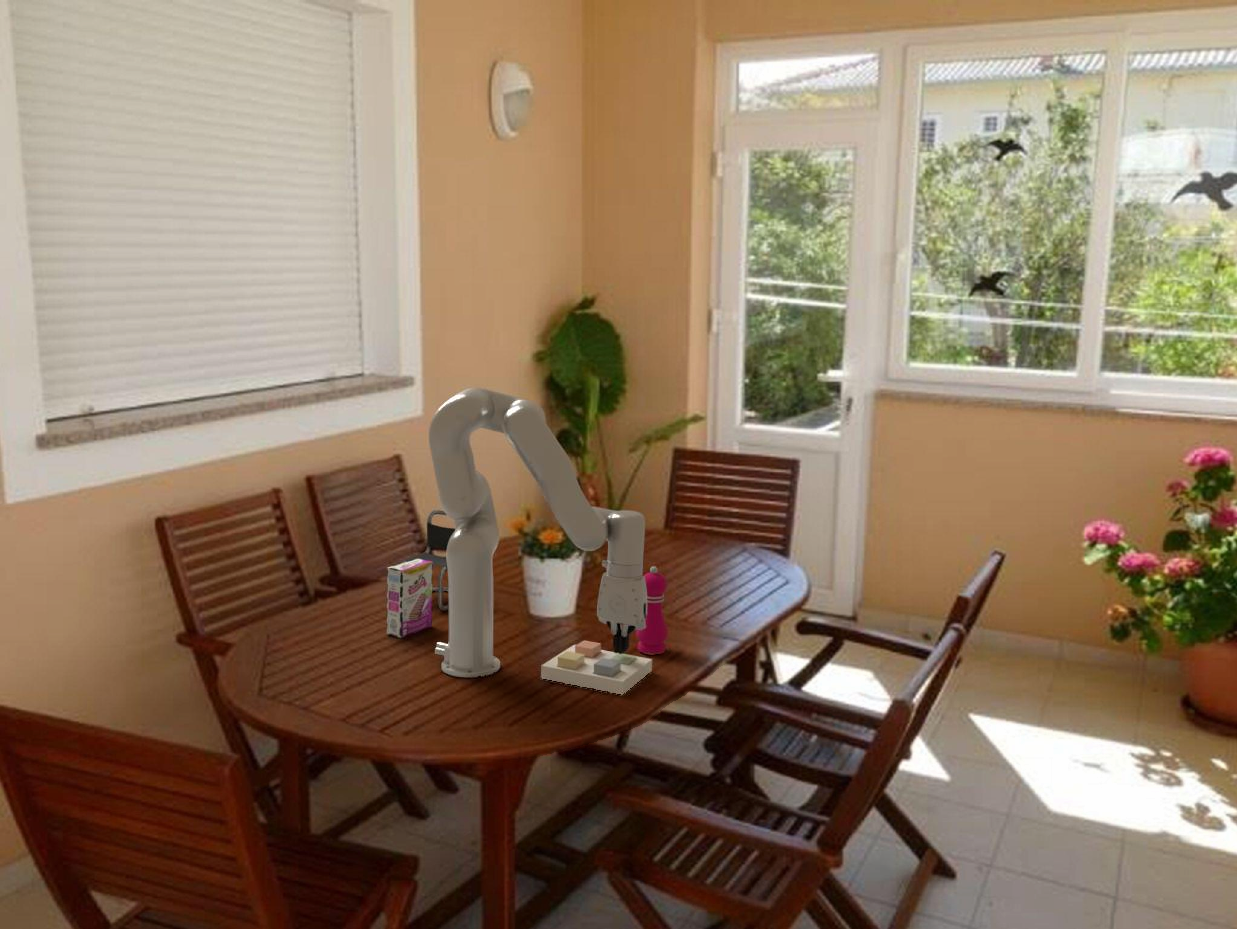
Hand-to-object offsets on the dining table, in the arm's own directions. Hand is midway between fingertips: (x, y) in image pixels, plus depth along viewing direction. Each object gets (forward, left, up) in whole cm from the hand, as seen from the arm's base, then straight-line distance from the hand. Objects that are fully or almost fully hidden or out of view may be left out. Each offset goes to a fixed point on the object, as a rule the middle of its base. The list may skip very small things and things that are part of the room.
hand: (620, 651), depth 232 cm
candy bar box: (-56, +1, -5) cm, 56 cm away
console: (-4, -4, -5) cm, 7 cm away
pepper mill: (0, +16, -5) cm, 17 cm away
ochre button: (-8, -8, -2) cm, 11 cm away
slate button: (+1, -8, -2) cm, 8 cm away
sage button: (+1, 0, -4) cm, 4 cm away
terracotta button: (-8, 0, -2) cm, 8 cm away
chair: (-64, +24, -5) cm, 68 cm away
